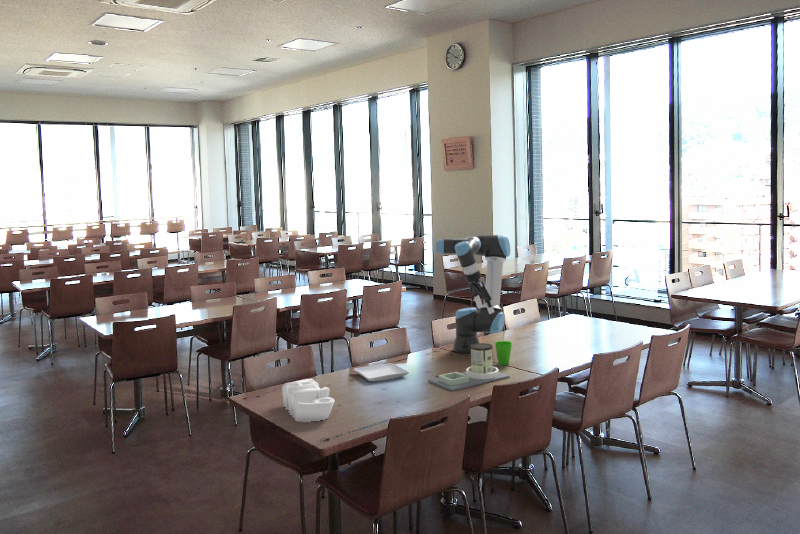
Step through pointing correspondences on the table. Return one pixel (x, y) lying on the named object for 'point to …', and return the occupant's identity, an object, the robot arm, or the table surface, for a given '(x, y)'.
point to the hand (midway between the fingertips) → (486, 310)
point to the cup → (503, 351)
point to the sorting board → (466, 379)
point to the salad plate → (381, 372)
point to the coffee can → (481, 358)
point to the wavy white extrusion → (307, 400)
